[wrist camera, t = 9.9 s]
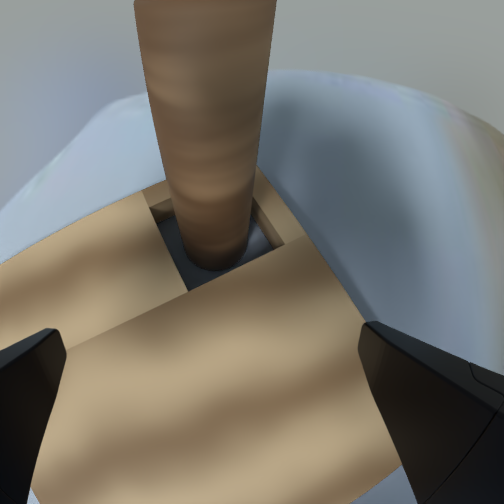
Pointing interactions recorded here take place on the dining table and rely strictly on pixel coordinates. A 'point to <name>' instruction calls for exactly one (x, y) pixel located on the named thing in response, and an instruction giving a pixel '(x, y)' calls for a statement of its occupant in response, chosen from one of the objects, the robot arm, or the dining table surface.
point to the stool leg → (208, 113)
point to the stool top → (196, 367)
